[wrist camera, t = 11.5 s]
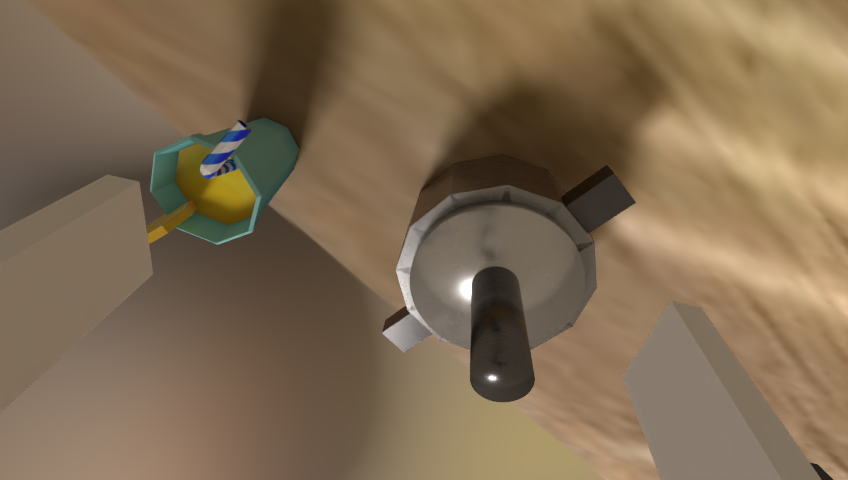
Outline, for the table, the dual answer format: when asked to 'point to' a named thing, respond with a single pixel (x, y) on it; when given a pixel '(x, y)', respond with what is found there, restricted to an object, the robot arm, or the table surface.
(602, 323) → the table surface
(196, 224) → the cup
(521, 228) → the lid
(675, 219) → the table surface
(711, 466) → the robot arm
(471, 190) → the pot
